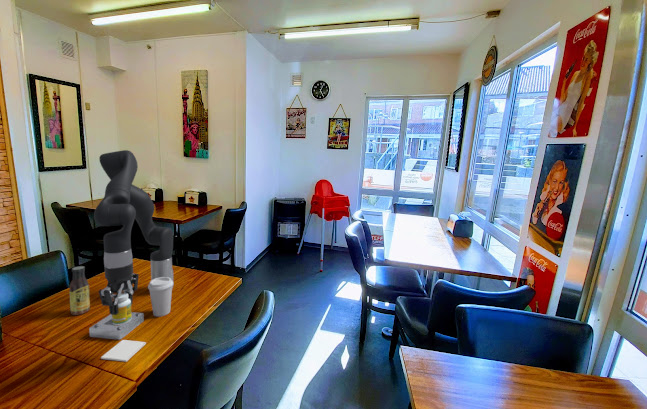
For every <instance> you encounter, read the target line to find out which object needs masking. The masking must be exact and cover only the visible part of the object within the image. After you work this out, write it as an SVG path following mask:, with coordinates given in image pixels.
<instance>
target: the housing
mask: <svg viewBox="0 0 647 409" xmlns="http://www.w3.org/2000/svg"><path fill="white" fill-rule="evenodd" d="M131 315H132V318H131V320H130V321H129V322H128V323H126V324H123V325H114V324H113V323H112V315H111V314H110V313H109V315H107V316H106V317H104V318H102V319H101V320H99V321H98V322H97V323H94V324H93V325H92V326H90V327H89V330H88V331H89V337H90V338H98V339H109V340H118V341H120V340H121V341H122V340H123V339H124V337H126V336H127V335H128V334H129V333H131V332H132V331H133V330H134V329H135V328H137V327H139V325H141V324H142V323H143V322H144V321H145V320H144V319H145V318H144V317H145V314H144V313H143V312H134V311H133V312H132V311H131Z"/></svg>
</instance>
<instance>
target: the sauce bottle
mask: <svg viewBox="0 0 647 409" xmlns="http://www.w3.org/2000/svg"><path fill="white" fill-rule="evenodd" d="M85 270H86V267H85V266H83V265H80V266H74V267H72V268H71V272H72V280H71V281H70V284H69V286H68V287H69V290H68V292H69V309H70V314H71V315H73V316H77V315H78V316H79V315H83V314H86V313H87V312H88V311H90V309H91V308H90V306H91V302H90V301H91V300H90V299H91V298H90V284H89V282H88V279H87V278H86V274H85Z"/></svg>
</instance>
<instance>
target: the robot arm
mask: <svg viewBox="0 0 647 409" xmlns="http://www.w3.org/2000/svg"><path fill="white" fill-rule="evenodd" d="M98 160H99V163H100V166H101V168H102V169H103V171H104V172H105V174H106V176H107V177H108V178H109V180H110V181H109V182H108V183H107V184H106V187H105V191H104V197H103V198H102V199H101V201H100V202H99V203H98V204H97V206H96V207H95V209H94V212H93V220H94V222H95V223H96V224H97V225H99V226H100V227H101V226H102V227H111V226H112V227H114V226H115V227H116V226H122V227H121V229H120V228H119V229H118V230H115V231H110V232H108V233H105V234H104V235H103V249H104V253H103V265H104V278H105V279H106V280H107V284H106V287H104V288H103V289H99V290H98V295H99V298H100V301H101V305H102V306H107V307H108V309H109V310H108V312H109V315H110V314H111V315H117V314H118V304H117V302H118V298H119V297H120V296H121V293H128V299H130V300H131V305H133V300H134V299H133V295H134V292H135V291H137V290H138V286H139V273H134V260H133V253H132V251H133V250H132V245H131V244H132V242H131V241H132V240H131V237H132V228H133V225H134V222H135V221H136V222H137V224H138V227H139V228H140V230H141V234H142V235H143V237H144V239H145V241H146V242H147V244H148V245H152V246H159V249H158V250H155V251H152V252H151V253H150V275H151V276H150V281H151V280H153V279H155V278H159V277H169V278H171V280H172V281H173V282H174V269H173V249H174V232H173V230H172V229H171V228H170V227H166V226H165V227H164V226H157V225H156V224H155V223H154V220H153V215H154V213H155V212H154V211H155V204H154V202H153V200H152V198H151V196H150V194H148V192H147V191H145V190H144V189H142V188H140V187H138V186H137V185H134V184H133V183H134V180H135V177H136V174H137V172H138V161H137V159H136V156H135V155H134V153H133V152H132V151H131V150H128V149H126V150H125V149H124V150H118V151H111V152H107V153H102V154H100V156H99V159H98ZM173 288H174V284H173V285H172V289H173Z"/></svg>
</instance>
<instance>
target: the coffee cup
mask: <svg viewBox="0 0 647 409" xmlns="http://www.w3.org/2000/svg"><path fill="white" fill-rule="evenodd" d="M173 284H174V280H173V281H172V280H171V278H169V277H159V278H155V279H153V280H151V279H150V281H149V283H148V285H147V289H148V290H149V296H150V302H151V308H152V309H151V310H152V315H153V316H154V317H157V318H158V317H160V318H161V317H163V316H164V317H165V316H166V315H168V314H169V313H171V305H172V295H173V294H172V293H173V292H172V291H173V288H172V285H173Z"/></svg>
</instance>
